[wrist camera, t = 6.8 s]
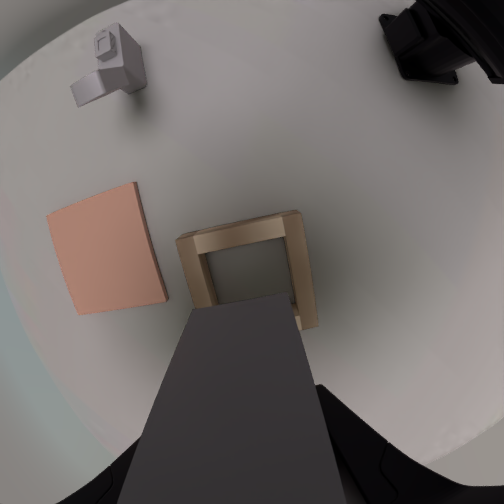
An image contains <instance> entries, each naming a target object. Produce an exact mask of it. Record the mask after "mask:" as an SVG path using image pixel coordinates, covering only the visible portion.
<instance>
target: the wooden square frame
mask: <svg viewBox="0 0 504 504" xmlns="http://www.w3.org/2000/svg"><path fill="white" fill-rule="evenodd" d="M278 237H284V242H285V247H286V253H287V258H288V263H289V269H290V274H291V280H292V286H293V291H294V297H295V303H294V304H291V306H292V309H293V313H294V316H295V319H296V323H297V326H298V329H299V331H300V330H304V329H309V328H313V327H318V318H317V310H316V303H315V295H314V288H313V282H312V275H311V268H310V262H309V256H308V250H307V244H306V238H305V232H304V226H303V221H302V215H301V213H300V212H299V211H297V210H292V211H287V212H282V213H277V214H272V215H268V216H263V217H258V218H253V219H249V220H244V221H239V222H235V223H230V224H226V225H221V226H217V227H212V228H208V229H203V230H199V231H195V232H190V233H186V234H182V235H181V236H180V237H179V238H178V239H176V240H175V241H176V245H177V249H178V252H179V256H180V259H181V263H182V266H183V270H184V273H185V277H186V280H187V283H188V287H189V290H190V293H191V296H192V300H193V303H194V306H195V309H198V308H204V307H210V306H216V305H219V304H218V300H217V297H216V293H215V289H214V286H213V282H212V279H211V275H210V271H209V268H208V264H207V260H206V256H205V253H207V252H212V251H217V250H221V249H226V248H231V247H235V246H240V245H245V244H250V243H254V242H259V241H264V240H269V239H274V238H278Z"/></svg>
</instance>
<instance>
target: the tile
mask: <svg viewBox="0 0 504 504" xmlns="http://www.w3.org/2000/svg"><path fill="white" fill-rule="evenodd" d="M46 217H47V221H48V225H49V229H50V233H51V237H52V241H53V244H54V248H55V251H56V254H57V258H58V261H59V264H60V267H61V270H62V273H63V276H64V279H65V282H66V285H67V287H68V290H69V293H70V295H71V298H72V301H73V303H74V306H75V308H76V310H77V313H78V315H84V314H91V313H98V312H105V311H111V310H118V309H125V308H131V307H137V306H144V305H150V304H156V303H162V302H167V300H168V299H169V298H168V295H167V292H166V289H165V286H164V283H163V280H162V277H161V274H160V270H159V267H158V264H157V260H156V257H155V254H154V250H153V247H152V243H151V240H150V236H149V232H148V229H147V225H146V221H145V217H144V213H143V209H142V205H141V201H140V196H139V192H138V188H137V183H136V182H131V183H128V184H125V185H122V186H120V187H117V188H114V189H111V190H108V191H106V192H103V193H100V194H98V195H95V196H92V197H90V198H87V199H85V200H82V201H80V202H77V203H75V204H72V205H70V206H67V207H65V208H63V209H60V210H58V211H56V212H53V213H51V214H49V215H47V216H46Z"/></svg>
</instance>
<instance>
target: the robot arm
mask: <svg viewBox="0 0 504 504" xmlns="http://www.w3.org/2000/svg"><path fill="white" fill-rule="evenodd" d="M384 18H385V19H386V20H385V19H384ZM379 20H380V22H381V24H382V26H383V29H384V32H385V34H386V36H387V39H388V41H389V44H390V46H391V49H392V51H393V54H394V55H395V58H396V61H397V64H398V67H399V69H400V72H401V75H402V77H403V78H404V79H406V80H411V81H424V82H434V83H442V84H450V85H456V84H458V82H459V81H458V78H457V75H456V72H455V70H456V69H458V68H461V67H463V66H466V65H468V64H470V63H473V62H475V61H476V62H477V63H478V64H479V65H480V67H481V68H482V69H483V70H484V72H485V73H486V74H487V76H488V79H489V80H490V81H491V83H492V84H504V0H416V2H415V3H414V4H413V5H412V6H411V7H410V8H409V9H408V8H406V9H404V10H403V11H402V12H401V13H400V14H399V15H398V16H395V15H389V14H382V15H381V16H380V17H379ZM406 72H407V73H408V75H409V76H408V75H407V74H406ZM453 79H454V80H453ZM315 387H316V391H317V394H318V398H319V401H320V405H321V409H322V412H323V416H324V419H325V423H326V427H327V430H328V434H329V438H330V441H331V445H332V449H333V453H334V456H335V460H336V464H337V468H338V472H339V476H340V480H341V484H342V487H343V491H344V495H345V499H346V504H504V485H502V486H467V485H462V484H459V483H456V482H454V481H452V480H450V479H448V478H446V477H444V476H442V475H440V474H438V473H436V472H434V471H432V470H430V469H428V468H427V467H425V466H423V465H421V464H419V463H418V462H416V461H414V460H413V459H411V458H410V457H408V456H407V455H405V454H404V453H403V452H401V451H400V450H398V449H397V448H396V447H395V446H393V445H392V444H391V443H390V442H389V443H388V441H387V440H386V439H385V438H384V437H382V436H381V435H380V434H379V433H377V432H376V431H375V430H374V429H373V428H371V427H370V426H369V425H368V424H367V423H366V422H364V421H363V420H362V419H361V418H360V417H359V416H357V415H356V414H355V413H354V412H353V411H352V410H350V409H349V408H348V407H347V406H346V405H345V404H344V403H342V402H341V401H340V400H339V399H338V398H337V397H336V396H335V395H333V394H332V393H331V392H330V391H329V390H328V389H327V388H326V387H324V386H323V385H322V384H319V385H315ZM140 438H141V437H139V438H138V439H137V440H136V441H135V442H134V443H133V444H132V445H131V446H130V447H129V448H128V449H127V450H126V451H125V452H124V453H122V454H121V455H120V456H119V457H118V458H117V459H116V460H115V461H114V462H113V463H112V464H111V466H108V467H107V468H106V469H105V470H104V471H103V472H101V473H100V474H99V475H98V476H97V477H95V478H94V479H93V480H92V481H90V482H89V483H87V484H86V485H85V486H83V487H82V488H80V489H79V490H77V491H76V492H75V493H73V494H71V495H70V496H68V497H67V498H65V499H64V500H62V501H60V502H58V503H56V504H117V502H118V499H119V496H120V493H121V490H122V487H123V484H124V481H125V479H126V476H127V473H128V470H129V467H130V465H131V462H132V459H133V456H134V454H135V451H136V448H137V446H138V443H139V440H140Z"/></svg>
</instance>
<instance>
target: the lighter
mask: <svg viewBox="0 0 504 504" xmlns="http://www.w3.org/2000/svg"><path fill="white" fill-rule="evenodd" d="M94 46H95V57H96V58H98V68H99V70H96V71H94V72H92V73H90V74H89V75H87V76H85V77H83V78H82V79H80V80H78V81H77V82H75V83H73V84H72V85H71V86H70V87H71V90H72V93H73V96H74V98H75V101H76V104H77V106H78V108H79V107H81V106H83V105H85V104H87V103H89V102H92V101H94V100H96V99H99V98H101V97H104V96H106V95H108V94H110V93H112V92H114V91H116V90H118V89H121V90H123V91H124V92H126V93H128V94H130V93H132V92H134V91H137V90H139V89H141V88H144V87H146V85H147V80H146V75H145V70H144V64H143V59H142V53H141V47H140V46H139V44H138V43H137V42H136V41H135V40H134V39H133V38H132V37H131V36H130V35H129V34H128V33H127V31H126V30H125V29H124V28H123V27H122V26H121V25H120V24H119V23H114V24H112V25H110V26H108V27H106V28H104V29H102V30H100V31H98V32H97V34H96V37H95V38H94Z"/></svg>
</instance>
